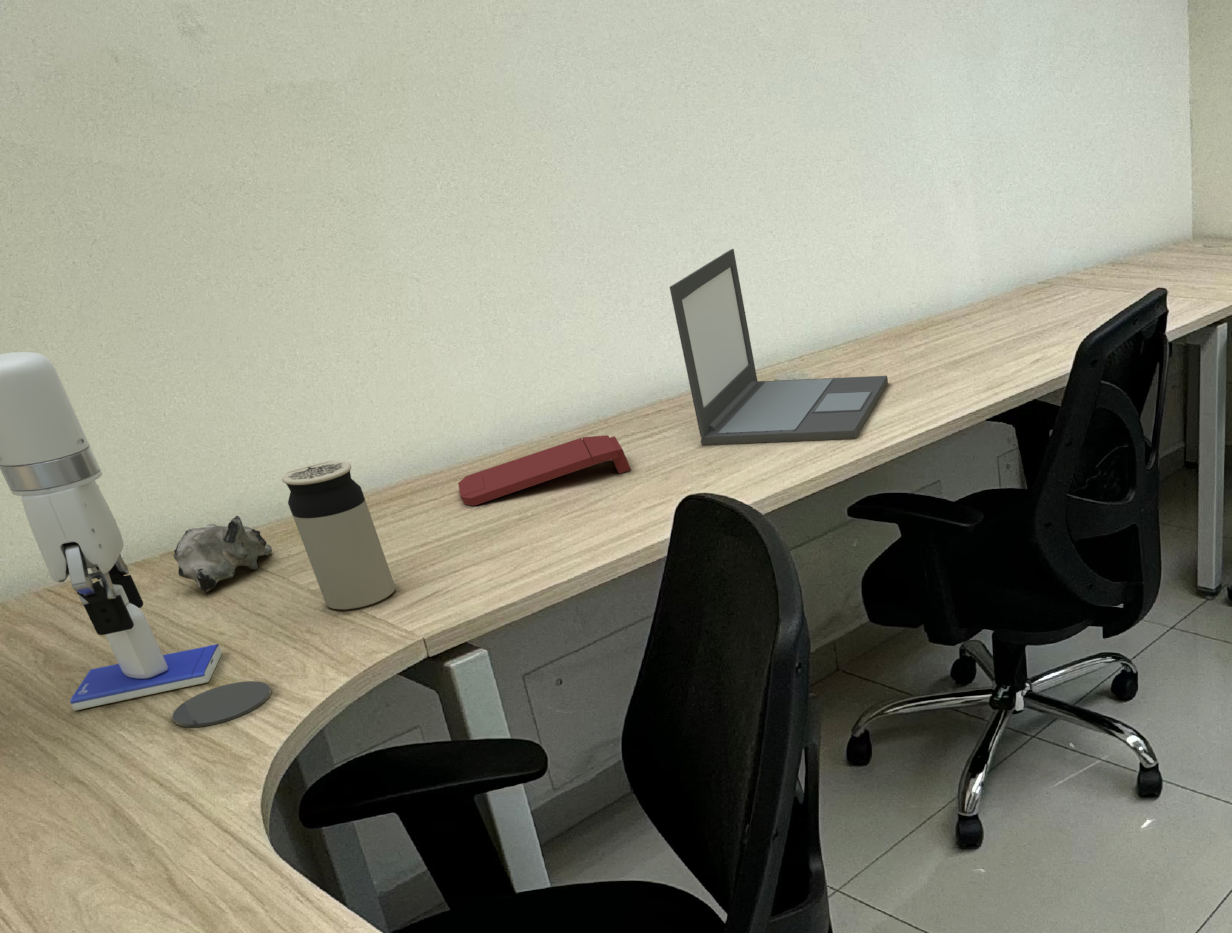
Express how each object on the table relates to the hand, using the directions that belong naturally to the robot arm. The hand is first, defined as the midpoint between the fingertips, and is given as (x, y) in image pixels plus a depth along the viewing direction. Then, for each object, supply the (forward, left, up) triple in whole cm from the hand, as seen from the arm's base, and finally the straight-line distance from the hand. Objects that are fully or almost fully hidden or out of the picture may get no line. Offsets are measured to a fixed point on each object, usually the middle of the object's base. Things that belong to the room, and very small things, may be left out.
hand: (121, 618), depth 130 cm
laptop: (+93, +57, -9) cm, 109 cm away
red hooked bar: (+47, +46, -9) cm, 66 cm away
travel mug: (+21, +12, -9) cm, 26 cm away
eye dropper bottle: (0, 0, -7) cm, 7 cm away
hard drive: (0, 0, -9) cm, 9 cm away
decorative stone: (+5, +32, -9) cm, 34 cm away
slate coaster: (+8, -11, -8) cm, 16 cm away
